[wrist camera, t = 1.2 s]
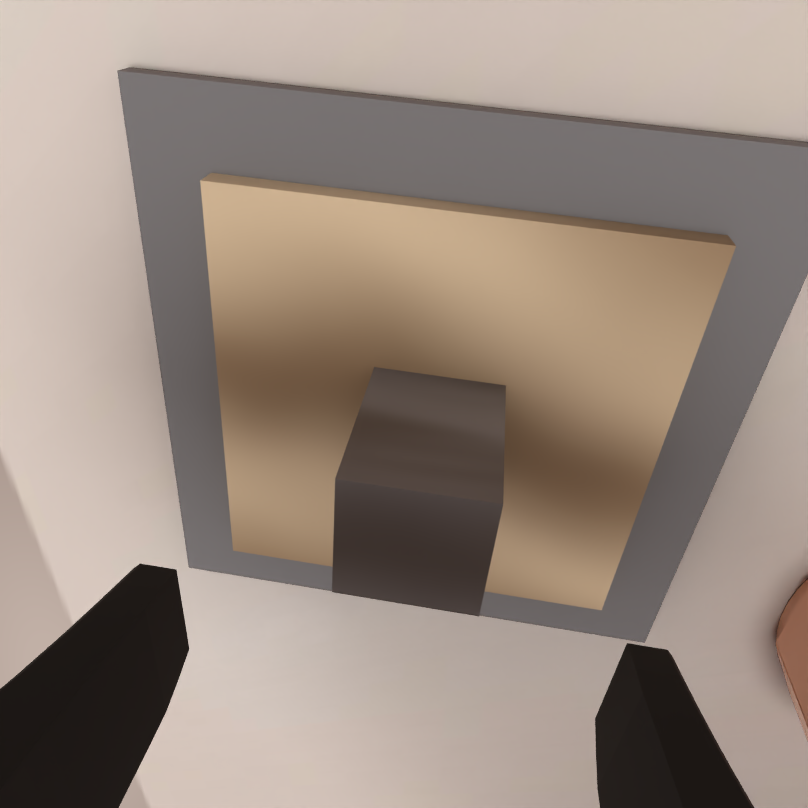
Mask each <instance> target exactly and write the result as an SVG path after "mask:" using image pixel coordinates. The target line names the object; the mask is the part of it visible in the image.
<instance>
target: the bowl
mask: <svg viewBox="0 0 808 808" xmlns="http://www.w3.org/2000/svg"><path fill="white" fill-rule="evenodd" d="M776 648H777V654H778V658H779V661H780V663H781V666H782V669H783V672H784V676H785V679H786V683H787V686H788V690H789V693H790V695H791V698H792V701H793V703H794V706H795V709H796V711H797V714H798V717H799V719H800V722H801V725H802V727H803V730H804V733H805V735H806V738H807V741H808V579H807V580H806V581H805V582H804V583H803V584H802V585H801V586H800V587H799V588H798V589H797V591H796V592H795V594H794V595H793V596H792V598H791V599H790V601H789V602H788V603H787V605H786V607H785V609H784V611H783V613H782V615H781V617H780V621H779V624H778V628H777V634H776Z"/></svg>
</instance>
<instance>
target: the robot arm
mask: <svg viewBox="0 0 808 808" xmlns="http://www.w3.org/2000/svg"><path fill="white" fill-rule="evenodd" d="M188 651H189V645H188V639H187V632H186V626H185V620H184V614H183V608H182V601H181V595H180V589H179V583H178V577H177V571H176V570H175V569H169V568H163V567H157V566H151V565H144V564H139V565H138V566H136V567H135V568H134V569H133V570H132V571H130V572H129V573H128V574H127V575H126V576H125V577H124V578H123V579H122V580H121V581H120V582H119V583H118V584H117V585H116V586H115V587H113V588H112V589H111V590H110V591H109V592H108V593H107V594H106V595H105V596H104V597H103V598H102V599H101V600H100V601H99V602H98V603H96V604H95V605H94V606H93V607H92V608H91V609H90V610H89V611H88V612H87V613H86V614H85V615H84V616H82V617H81V618H80V619H79V620H78V621H77V622H76V623H75V624H74V625H73V626H72V627H71V628H70V629H68V630H67V631H66V632H65V633H64V634H63V635H62V636H61V637H59V638H58V639H57V640H56V641H55V642H54V643H53V644H52V645H50V646H49V647H48V648H47V649H46V650H45V651H44V652H42V653H41V654H40V655H39V656H38V657H37V658H36V659H34V660H33V661H32V662H31V663H30V664H29V665H28V666H26V667H25V668H24V669H23V670H22V671H21V672H20V673H19V674H17V675H16V676H15V677H14V678H13V679H11V680H10V681H9V682H8V683H7V684H6V685H5V686H3V687H2V688H1V689H0V808H119V806H120V804H121V802H122V799H123V798H124V796H125V794H126V792H127V789H128V788H129V786H130V783H131V782H132V780H133V778H134V776H135V774H136V772H137V770H138V768H139V766H140V764H141V762H142V760H143V758H144V756H145V754H146V752H147V750H148V748H149V746H150V744H151V742H152V740H153V738H154V736H155V733H156V731H157V729H158V727H159V725H160V723H161V721H162V719H163V717H164V715H165V713H166V711H167V708H168V705H169V703H170V700H171V698H172V695H173V692H174V690H175V687H176V684H177V682H178V679H179V676H180V673H181V671H182V668H183V665H184V662H185V659H186V656H187V654H188ZM595 726H596V762H597V785H598V795H599V802H600V808H754V806H753V805H752V803H751V801H750V800H749V798H748V796H747V794H746V793H745V791H744V789H743V788H742V786H741V784H740V782H739V781H738V779H737V777H736V776H735V774H734V772H733V770H732V769H731V767H730V765H729V763H728V761H727V760H726V758H725V756H724V754H723V752H722V751H721V749H720V747H719V745H718V743H717V741H716V740H715V738H714V736H713V734H712V732H711V730H710V729H709V727H708V725H707V723H706V721H705V719H704V717H703V715H702V714H701V712H700V710H699V708H698V706H697V704H696V702H695V700H694V698H693V696H692V694H691V692H690V690H689V688H688V687H687V685H686V683H685V681H684V679H683V677H682V675H681V673H680V671H679V669H678V667H677V665H676V663H675V661H674V659H673V657H672V655H671V654H670V653H669V651H668V650H665V649H659V648H653V647H647V646H640V645H634V644H628V643H627V645H626V647H625V649H624V652H623V654H622V657H621V659H620V661H619V664H618V666H617V668H616V671H615V673H614V676H613V678H612V680H611V683H610V685H609V687H608V690H607V692H606V694H605V697H604V699H603V702H602V704H601V706H600V709H599V711H598V713H597V716H596V718H595Z"/></svg>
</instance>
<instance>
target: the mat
mask: <svg viewBox="0 0 808 808" xmlns="http://www.w3.org/2000/svg"><path fill="white" fill-rule="evenodd" d="M117 72H118V79H119V86H120V92H121V99H122V106H123V113H124V120H125V127H126V134H127V141H128V148H129V155H130V162H131V169H132V176H133V183H134V190H135V197H136V204H137V210H138V217H139V224H140V231H141V238H142V245H143V252H144V259H145V266H146V273H147V280H148V287H149V294H150V301H151V308H152V315H153V322H154V329H155V335H156V342H157V349H158V356H159V363H160V370H161V377H162V384H163V391H164V398H165V405H166V412H167V419H168V426H169V433H170V440H171V447H172V454H173V460H174V467H175V474H176V481H177V488H178V495H179V502H180V509H181V516H182V523H183V530H184V537H185V544H186V551H187V558H188V565H189V568H195V569H201V570H207V571H213V572H220V573H226V574H232V575H238V576H244V577H250V578H256V579H262V580H268V581H274V582H280V583H286V584H292V585H298V586H304V587H310V588H317V589H323V590H329V591H332V571H333V567H331V566H325V565H319V564H313V563H307V562H301V561H294V560H288V559H282V558H276V557H270V556H264V555H257V554H251V553H245V552H239V551H233V543H232V532H231V521H230V510H229V498H228V487H227V476H226V465H225V454H224V442H223V431H222V420H221V409H220V397H219V386H218V375H217V364H216V353H215V341H214V330H213V319H212V308H211V297H210V285H209V274H208V263H207V252H206V240H205V229H204V218H203V207H202V196H201V184H200V180H202V179H203V178H204V177H206V176H207V175H209V174H210V173H218V174H226V175H234V176H242V177H251V178H259V179H267V180H275V181H284V182H292V183H300V184H308V185H317V186H325V187H333V188H341V189H350V190H358V191H366V192H374V193H383V194H391V195H399V196H407V197H416V198H424V199H432V200H440V201H449V202H457V203H465V204H473V205H482V206H490V207H498V208H506V209H515V210H523V211H531V212H539V213H548V214H556V215H564V216H572V217H581V218H589V219H597V220H605V221H614V222H622V223H630V224H638V225H647V226H655V227H663V228H671V229H680V230H688V231H696V232H704V233H713V234H721V235H728V236H729V237H730V239H731V240H732V241H733V242H734V244H735V245H736V248H735V251H734V253H733V256H732V259H731V262H730V264H729V267H728V270H727V272H726V275H725V278H724V280H723V283H722V286H721V289H720V291H719V294H718V297H717V299H716V302H715V305H714V307H713V310H712V313H711V316H710V318H709V321H708V324H707V326H706V329H705V332H704V335H703V337H702V340H701V343H700V345H699V348H698V351H697V353H696V356H695V359H694V362H693V364H692V367H691V370H690V372H689V375H688V378H687V381H686V383H685V386H684V389H683V391H682V394H681V397H680V399H679V402H678V405H677V408H676V410H675V413H674V416H673V418H672V421H671V424H670V427H669V429H668V432H667V435H666V437H665V440H664V443H663V445H662V448H661V451H660V454H659V456H658V459H657V462H656V464H655V467H654V470H653V472H652V475H651V478H650V481H649V483H648V486H647V489H646V491H645V494H644V497H643V500H642V502H641V505H640V508H639V510H638V513H637V516H636V518H635V521H634V524H633V527H632V529H631V532H630V535H629V537H628V540H627V543H626V546H625V548H624V551H623V554H622V556H621V559H620V562H619V564H618V567H617V570H616V573H615V575H614V578H613V581H612V583H611V586H610V589H609V592H608V594H607V597H606V600H605V602H604V605H603V608H602V610H596V609H590V608H584V607H578V606H572V605H566V604H559V603H553V602H547V601H541V600H535V599H529V598H522V597H516V596H510V595H504V594H498V593H492V592H485V591H484V596H483V601H482V605H481V610H480V614H479V615H480V616H486V617H492V618H498V619H504V620H511V621H517V622H523V623H529V624H535V625H541V626H547V627H553V628H559V629H565V630H571V631H577V632H583V633H589V634H595V635H601V636H608V637H614V638H620V639H626V640H632V641H638V642H644V643H645V641H646V638H647V636H648V634H649V632H650V629H651V627H652V625H653V622H654V620H655V618H656V616H657V613H658V611H659V609H660V607H661V604H662V602H663V600H664V598H665V595H666V593H667V591H668V589H669V586H670V584H671V582H672V580H673V577H674V575H675V573H676V570H677V568H678V566H679V564H680V561H681V559H682V557H683V555H684V552H685V550H686V548H687V546H688V543H689V541H690V539H691V537H692V534H693V532H694V530H695V527H696V525H697V523H698V521H699V518H700V516H701V514H702V512H703V509H704V507H705V505H706V503H707V500H708V498H709V496H710V494H711V491H712V489H713V487H714V485H715V482H716V480H717V478H718V475H719V473H720V471H721V469H722V466H723V464H724V462H725V460H726V457H727V455H728V453H729V451H730V448H731V446H732V444H733V442H734V439H735V437H736V435H737V432H738V430H739V428H740V426H741V423H742V421H743V419H744V417H745V414H746V412H747V410H748V408H749V405H750V403H751V401H752V399H753V396H754V394H755V392H756V390H757V387H758V385H759V383H760V380H761V378H762V376H763V374H764V371H765V369H766V367H767V365H768V362H769V360H770V358H771V356H772V353H773V351H774V349H775V347H776V344H777V342H778V340H779V338H780V335H781V333H782V331H783V328H784V326H785V324H786V322H787V319H788V317H789V315H790V313H791V310H792V308H793V306H794V304H795V301H796V299H797V297H798V295H799V292H800V290H801V288H802V285H803V283H804V281H805V279H806V276H807V274H808V143H807V142H798V141H789V140H780V139H771V138H762V137H753V136H744V135H735V134H726V133H717V132H708V131H699V130H690V129H681V128H672V127H663V126H654V125H645V124H636V123H627V122H618V121H609V120H600V119H590V118H581V117H572V116H563V115H554V114H545V113H536V112H527V111H518V110H509V109H500V108H491V107H482V106H473V105H464V104H455V103H446V102H437V101H428V100H419V99H410V98H401V97H392V96H383V95H374V94H365V93H356V92H346V91H337V90H328V89H319V88H310V87H301V86H292V85H283V84H274V83H265V82H256V81H247V80H238V79H229V78H220V77H211V76H202V75H193V74H184V73H175V72H166V71H157V70H148V69H139V68H126V69H122V70H118V71H117Z"/></svg>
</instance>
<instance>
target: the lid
mask: <svg viewBox="0 0 808 808" xmlns="http://www.w3.org/2000/svg"><path fill="white" fill-rule="evenodd" d="M200 184H201V196H202V207H203V218H204V229H205V240H206V252H207V263H208V274H209V285H210V297H211V308H212V319H213V330H214V341H215V353H216V364H217V375H218V386H219V397H220V409H221V420H222V431H223V442H224V454H225V465H226V476H227V487H228V498H229V510H230V521H231V532H232V543H233V551H239V552H245V553H251V554H257V555H264V556H270V557H276V558H282V559H288V560H294V561H301V562H307V563H313V564H319V565H325V566H331V567H333V571H332V592H335V593H341V594H347V595H353V596H359V597H365V598H372V599H378V600H384V601H390V602H396V603H402V604H408V605H414V606H420V607H426V608H432V609H438V610H444V611H450V612H456V613H462V614H468V615H475V616H479V614H480V610H481V605H482V601H483V596H484V591H485V592H492V593H498V594H504V595H510V596H516V597H522V598H529V599H535V600H541V601H547V602H553V603H559V604H566V605H572V606H578V607H584V608H590V609H596V610H602V608H603V605H604V602H605V600H606V597H607V594H608V592H609V589H610V586H611V583H612V581H613V578H614V575H615V573H616V570H617V567H618V564H619V562H620V559H621V556H622V554H623V551H624V548H625V546H626V543H627V540H628V537H629V535H630V532H631V529H632V527H633V524H634V521H635V518H636V516H637V513H638V510H639V508H640V505H641V502H642V500H643V497H644V494H645V491H646V489H647V486H648V483H649V481H650V478H651V475H652V472H653V470H654V467H655V464H656V462H657V459H658V456H659V454H660V451H661V448H662V445H663V443H664V440H665V437H666V435H667V432H668V429H669V427H670V424H671V421H672V418H673V416H674V413H675V410H676V408H677V405H678V402H679V399H680V397H681V394H682V391H683V389H684V386H685V383H686V381H687V378H688V375H689V372H690V370H691V367H692V364H693V362H694V359H695V356H696V353H697V351H698V348H699V345H700V343H701V340H702V337H703V335H704V332H705V329H706V326H707V324H708V321H709V318H710V316H711V313H712V310H713V307H714V305H715V302H716V299H717V297H718V294H719V291H720V289H721V286H722V283H723V280H724V278H725V275H726V272H727V270H728V267H729V264H730V262H731V259H732V256H733V253H734V251H735V248H736V245H735V244H734V242H733V241H732V240H731V239H730V237H729V236H728V235H721V234H713V233H704V232H696V231H688V230H680V229H671V228H663V227H655V226H647V225H638V224H630V223H622V222H614V221H605V220H597V219H589V218H581V217H572V216H564V215H556V214H548V213H539V212H531V211H523V210H515V209H506V208H498V207H490V206H482V205H473V204H465V203H457V202H449V201H440V200H432V199H424V198H416V197H407V196H399V195H391V194H383V193H374V192H366V191H358V190H350V189H341V188H333V187H325V186H317V185H308V184H300V183H292V182H284V181H275V180H267V179H259V178H251V177H242V176H234V175H226V174H218V173H210V174H209V175H207V176H206V177H204V178H203V179H202V180H200Z"/></svg>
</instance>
